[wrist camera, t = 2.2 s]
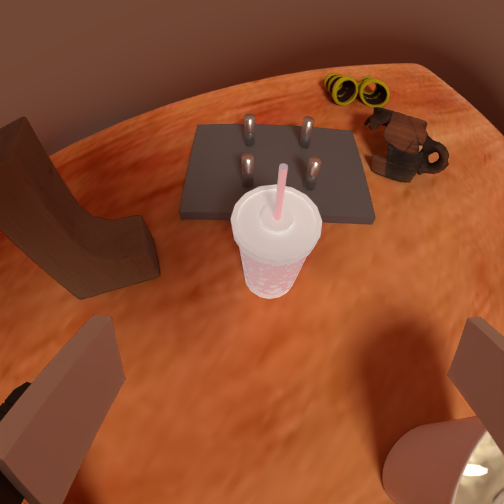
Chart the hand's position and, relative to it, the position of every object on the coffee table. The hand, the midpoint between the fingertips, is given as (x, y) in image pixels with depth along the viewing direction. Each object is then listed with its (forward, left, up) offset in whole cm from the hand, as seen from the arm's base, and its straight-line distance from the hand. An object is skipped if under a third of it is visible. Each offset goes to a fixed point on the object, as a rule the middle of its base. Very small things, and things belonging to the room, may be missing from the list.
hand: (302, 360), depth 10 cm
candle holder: (+14, -9, -16) cm, 23 cm away
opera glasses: (+14, +41, -16) cm, 46 cm away
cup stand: (+1, +23, -16) cm, 28 cm away
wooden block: (-15, +10, -16) cm, 24 cm away
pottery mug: (+17, +27, -16) cm, 35 cm away
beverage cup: (0, +10, -16) cm, 19 cm away
